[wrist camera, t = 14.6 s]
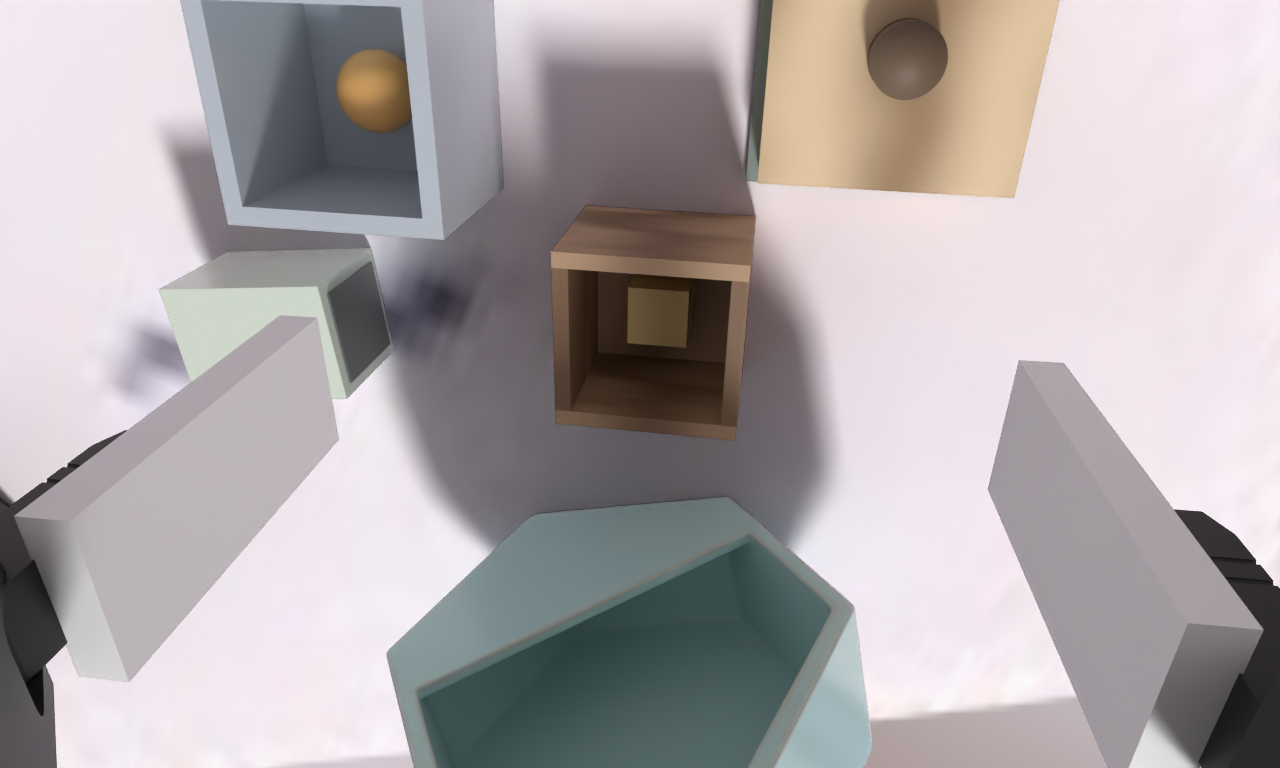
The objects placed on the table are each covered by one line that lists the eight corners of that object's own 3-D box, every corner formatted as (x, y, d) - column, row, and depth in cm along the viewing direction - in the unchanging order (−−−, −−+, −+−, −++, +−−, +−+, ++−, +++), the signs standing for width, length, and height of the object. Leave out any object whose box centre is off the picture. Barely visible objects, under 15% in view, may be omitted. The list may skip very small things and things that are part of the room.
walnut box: (587, 357, 38) (555, 423, 33) (585, 205, 35) (550, 251, 29) (742, 370, 37) (735, 440, 32) (755, 216, 34) (750, 265, 29)
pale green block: (260, 349, 41) (196, 398, 36) (229, 250, 38) (158, 289, 34) (397, 349, 40) (349, 399, 35) (374, 246, 37) (319, 286, 33)
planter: (678, 451, 45) (961, 694, 27) (704, 566, 48) (972, 849, 30) (368, 584, 40) (465, 986, 22) (420, 701, 43) (541, 1134, 26)
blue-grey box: (323, 177, 36) (227, 224, 30) (290, -31, 32) (174, -26, 26) (503, 188, 35) (443, 239, 29) (491, -25, 31) (420, -18, 25)
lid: (759, 169, 33) (756, 191, 30) (782, -98, 28) (781, -103, 25) (999, 182, 32) (1022, 207, 29) (1060, -93, 27) (1094, -98, 24)
